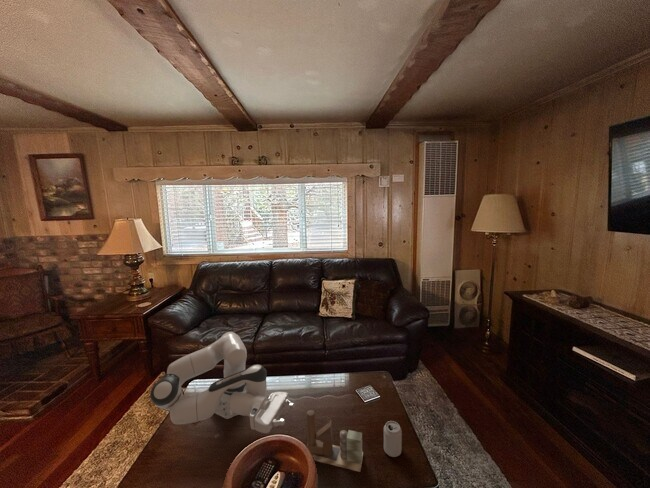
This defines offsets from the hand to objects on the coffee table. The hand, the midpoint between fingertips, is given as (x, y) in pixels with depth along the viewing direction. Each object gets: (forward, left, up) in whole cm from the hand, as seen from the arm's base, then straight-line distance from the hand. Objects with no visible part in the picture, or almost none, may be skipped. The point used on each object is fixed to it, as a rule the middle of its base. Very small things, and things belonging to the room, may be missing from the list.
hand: (289, 413), depth 115 cm
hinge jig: (+19, +2, -18) cm, 26 cm away
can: (+43, +11, -18) cm, 48 cm away
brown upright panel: (+13, +1, -17) cm, 21 cm away
